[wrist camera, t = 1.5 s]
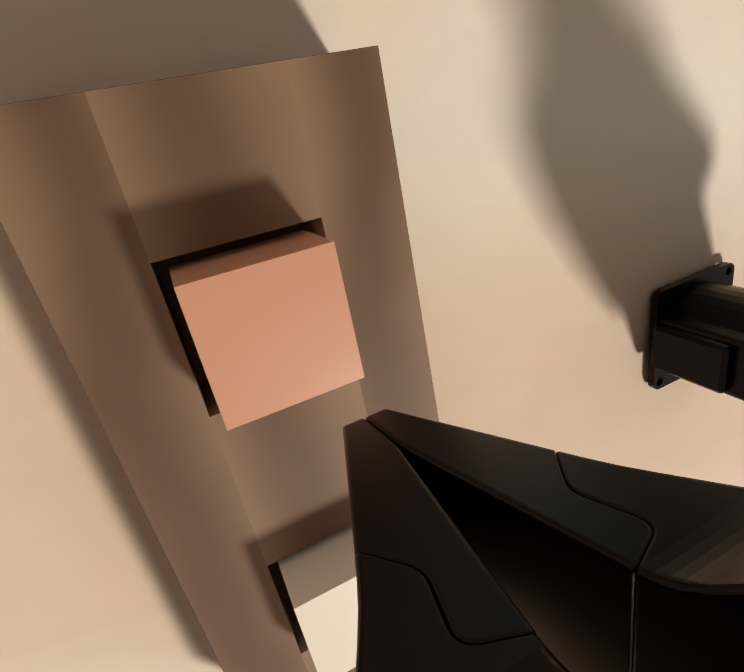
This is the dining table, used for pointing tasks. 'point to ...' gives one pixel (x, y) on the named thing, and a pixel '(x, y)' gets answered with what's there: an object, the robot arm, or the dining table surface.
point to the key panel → (168, 324)
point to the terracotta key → (269, 323)
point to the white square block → (326, 599)
